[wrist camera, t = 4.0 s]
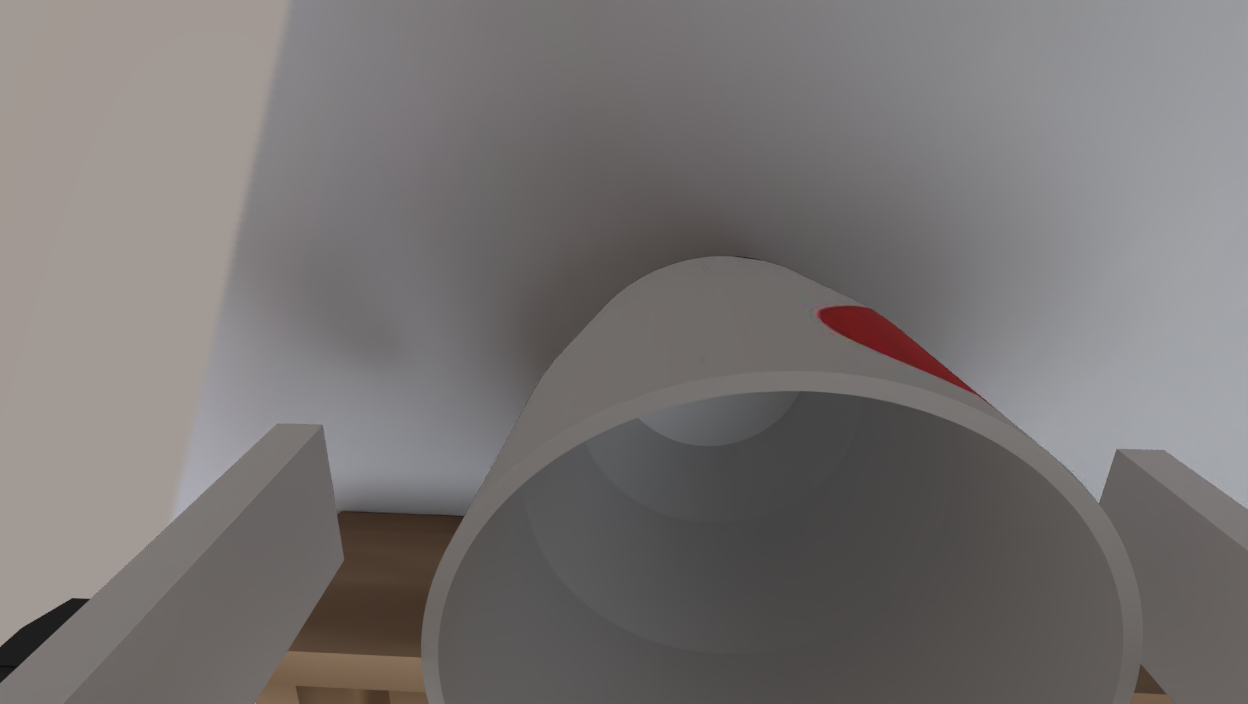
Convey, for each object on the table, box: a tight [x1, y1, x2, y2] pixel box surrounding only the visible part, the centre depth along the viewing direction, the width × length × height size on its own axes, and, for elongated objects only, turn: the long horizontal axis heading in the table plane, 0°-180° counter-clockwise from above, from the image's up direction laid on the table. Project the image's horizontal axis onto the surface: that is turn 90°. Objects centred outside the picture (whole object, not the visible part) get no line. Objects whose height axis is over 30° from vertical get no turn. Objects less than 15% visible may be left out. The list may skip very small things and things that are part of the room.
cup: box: [421, 256, 1143, 704], centre depth 13 cm, size 8×8×10 cm
